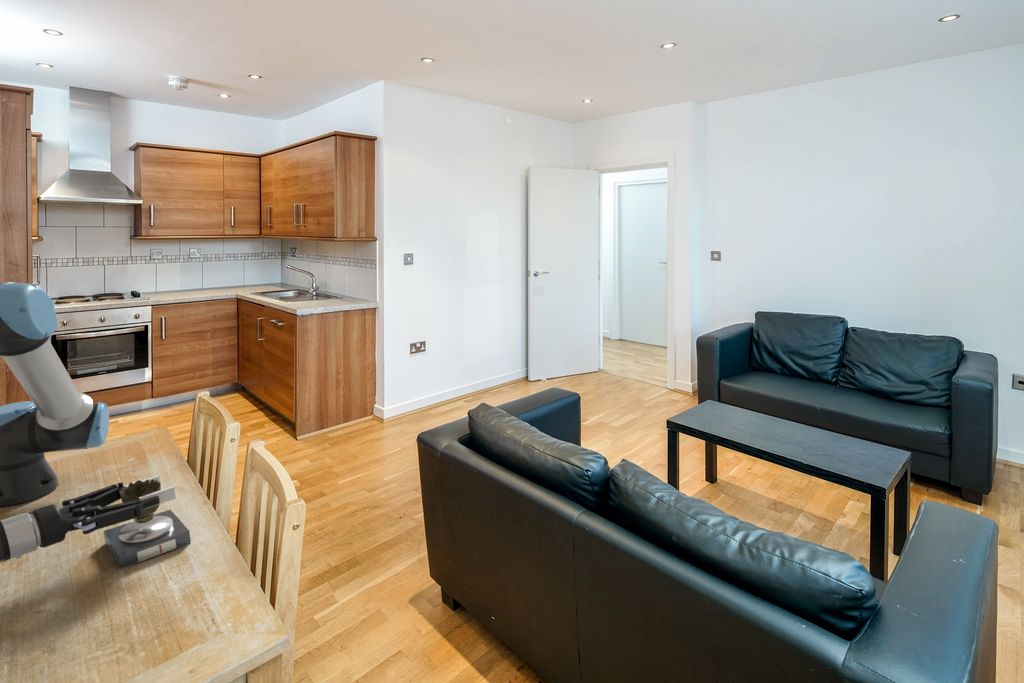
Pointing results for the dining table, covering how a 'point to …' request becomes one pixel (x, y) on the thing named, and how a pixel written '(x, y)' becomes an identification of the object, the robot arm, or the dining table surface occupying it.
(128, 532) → the kitchen scale
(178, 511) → the dining table surface
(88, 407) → the robot arm
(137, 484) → the cup
